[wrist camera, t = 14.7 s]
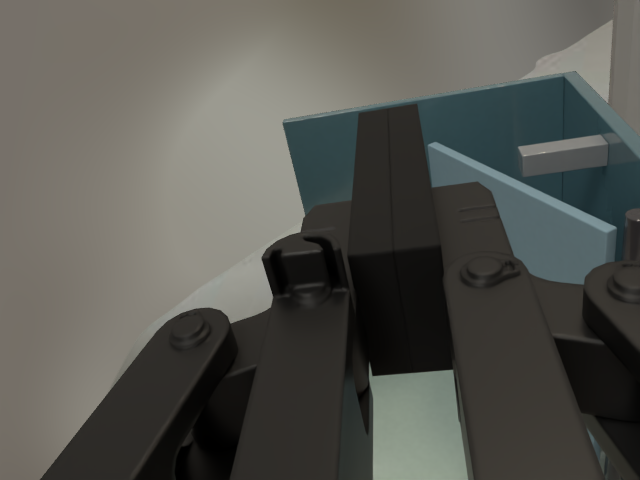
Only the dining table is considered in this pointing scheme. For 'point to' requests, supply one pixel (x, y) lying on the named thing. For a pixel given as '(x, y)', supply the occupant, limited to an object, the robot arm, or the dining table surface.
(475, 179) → the shower door
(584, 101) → the shower
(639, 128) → the water bottle
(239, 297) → the dining table surface
